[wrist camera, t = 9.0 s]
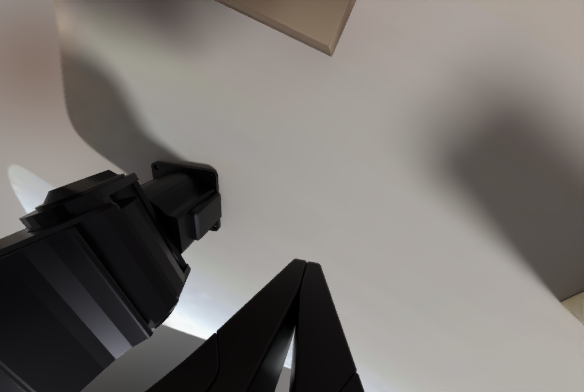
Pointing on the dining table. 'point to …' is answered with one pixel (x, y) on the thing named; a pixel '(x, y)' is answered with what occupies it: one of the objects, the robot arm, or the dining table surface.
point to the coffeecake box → (576, 306)
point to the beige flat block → (300, 18)
